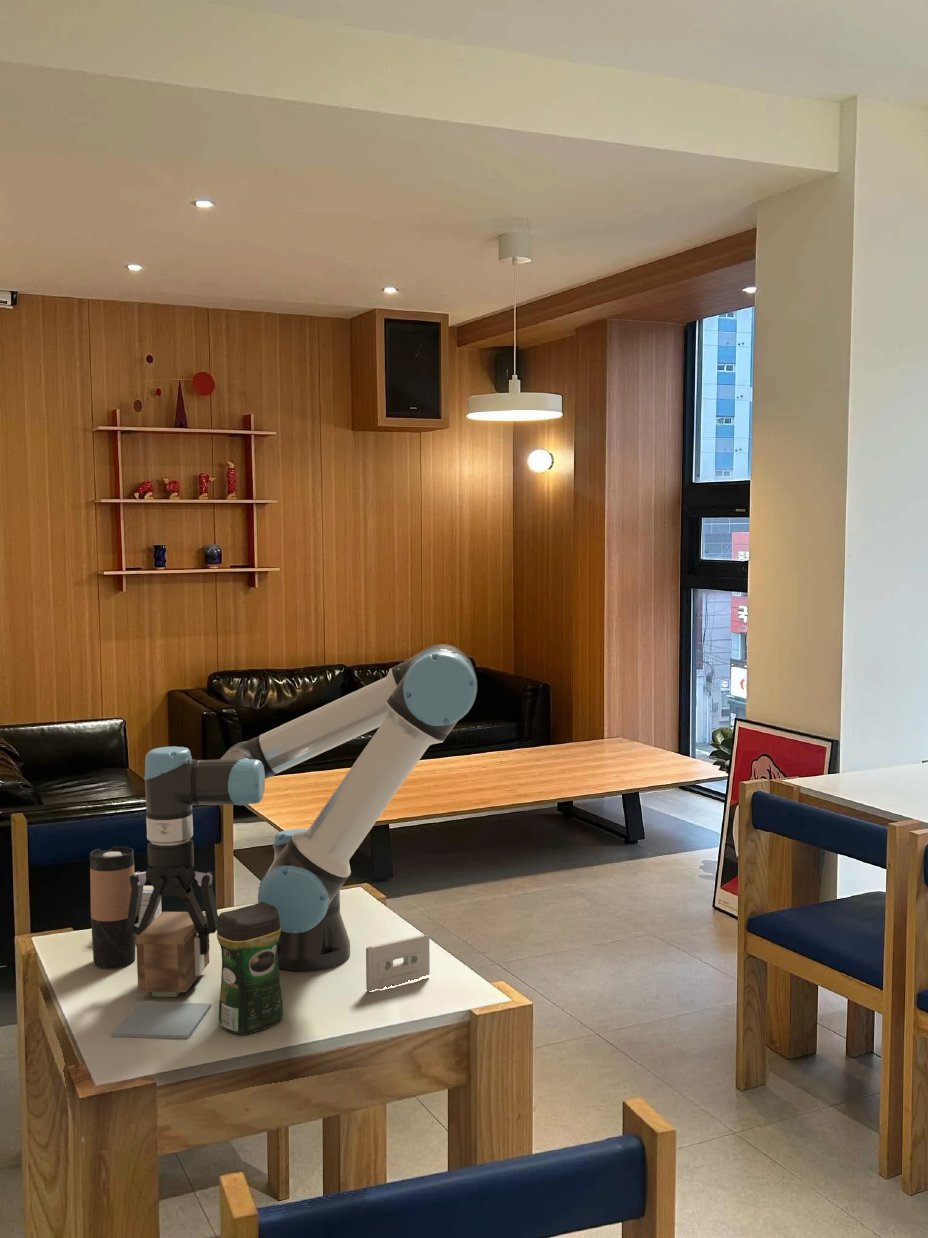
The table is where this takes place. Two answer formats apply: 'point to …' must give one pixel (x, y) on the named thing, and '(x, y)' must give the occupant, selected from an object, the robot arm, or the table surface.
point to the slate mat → (162, 1020)
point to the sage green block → (165, 994)
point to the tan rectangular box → (167, 954)
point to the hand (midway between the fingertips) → (174, 972)
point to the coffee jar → (249, 968)
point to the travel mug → (111, 907)
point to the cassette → (409, 969)
